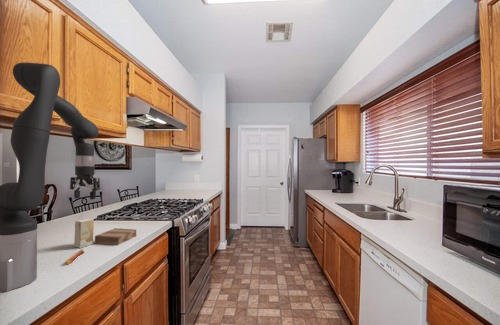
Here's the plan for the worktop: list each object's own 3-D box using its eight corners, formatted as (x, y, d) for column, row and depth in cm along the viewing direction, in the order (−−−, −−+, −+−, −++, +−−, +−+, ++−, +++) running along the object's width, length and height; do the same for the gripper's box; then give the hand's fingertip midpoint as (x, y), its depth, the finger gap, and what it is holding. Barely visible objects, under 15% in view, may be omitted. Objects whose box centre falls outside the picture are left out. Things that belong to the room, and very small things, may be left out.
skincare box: (79, 248, 102) (80, 222, 102) (73, 247, 103) (74, 221, 103) (94, 243, 108) (94, 218, 108) (88, 242, 109) (88, 218, 109)
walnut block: (118, 245, 107) (118, 237, 107) (94, 244, 109) (94, 235, 109) (136, 237, 119) (136, 229, 119) (115, 235, 121) (115, 228, 122)
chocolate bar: (62, 266, 85) (62, 260, 85) (78, 254, 97) (78, 249, 97) (69, 266, 86) (70, 260, 86) (85, 253, 97) (85, 248, 97)
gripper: (64, 165, 103) (64, 199, 103) (90, 165, 101) (90, 200, 101) (79, 164, 110) (79, 197, 111) (104, 165, 108) (104, 198, 108)
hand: (84, 198), depth 106 cm, fingers open, 8 cm apart
